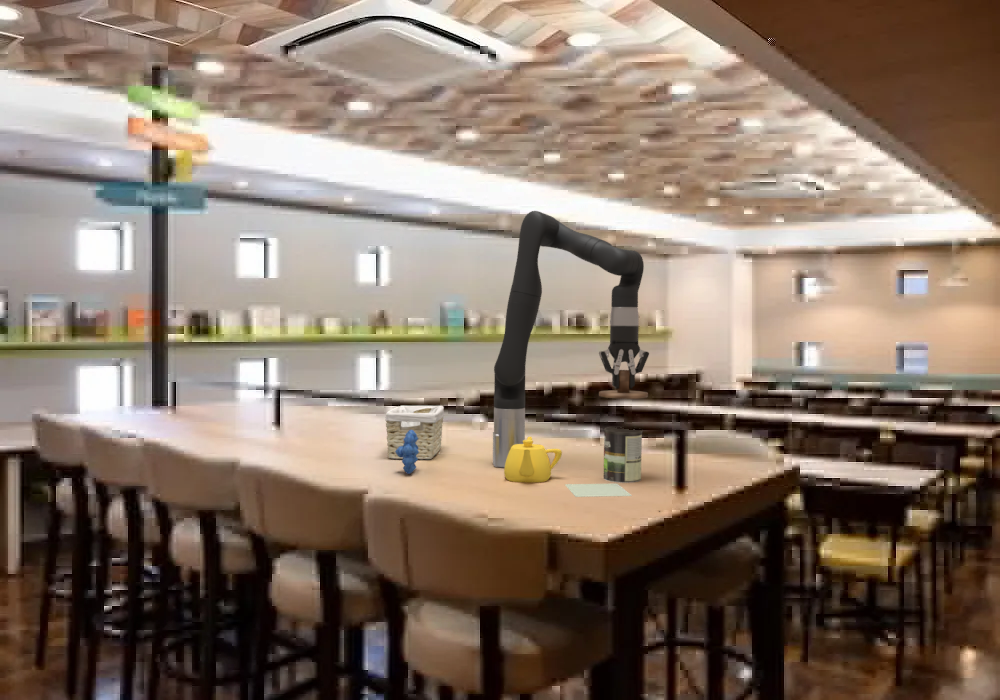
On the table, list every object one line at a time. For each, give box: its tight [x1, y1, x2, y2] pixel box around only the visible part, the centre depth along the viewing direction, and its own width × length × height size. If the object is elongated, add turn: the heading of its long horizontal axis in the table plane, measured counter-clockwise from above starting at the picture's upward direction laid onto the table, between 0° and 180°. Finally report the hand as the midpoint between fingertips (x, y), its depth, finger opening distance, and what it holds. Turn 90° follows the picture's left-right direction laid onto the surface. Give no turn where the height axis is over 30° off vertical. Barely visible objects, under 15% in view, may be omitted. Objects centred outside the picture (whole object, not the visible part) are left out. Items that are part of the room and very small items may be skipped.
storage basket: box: [385, 405, 445, 460], centre depth 244 cm, size 24×16×15 cm
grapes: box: [395, 430, 419, 475], centre depth 214 cm, size 12×7×12 cm, turn 177°
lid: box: [598, 369, 649, 400], centre depth 205 cm, size 13×13×7 cm
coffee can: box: [603, 426, 643, 484], centre depth 205 cm, size 10×10×14 cm
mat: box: [564, 483, 633, 498], centre depth 191 cm, size 14×14×1 cm
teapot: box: [503, 436, 563, 484], centre depth 206 cm, size 22×16×11 cm
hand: (623, 388), depth 205 cm, fingers closed on lid, 3 cm apart
